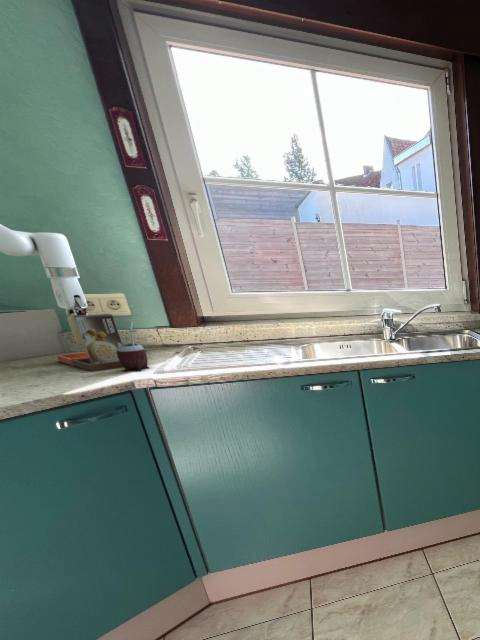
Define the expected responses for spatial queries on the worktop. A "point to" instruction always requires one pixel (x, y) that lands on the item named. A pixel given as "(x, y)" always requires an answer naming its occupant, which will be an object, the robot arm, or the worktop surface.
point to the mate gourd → (132, 355)
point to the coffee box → (99, 337)
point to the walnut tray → (96, 365)
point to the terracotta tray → (72, 357)
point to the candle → (75, 329)
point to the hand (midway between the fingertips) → (82, 328)
